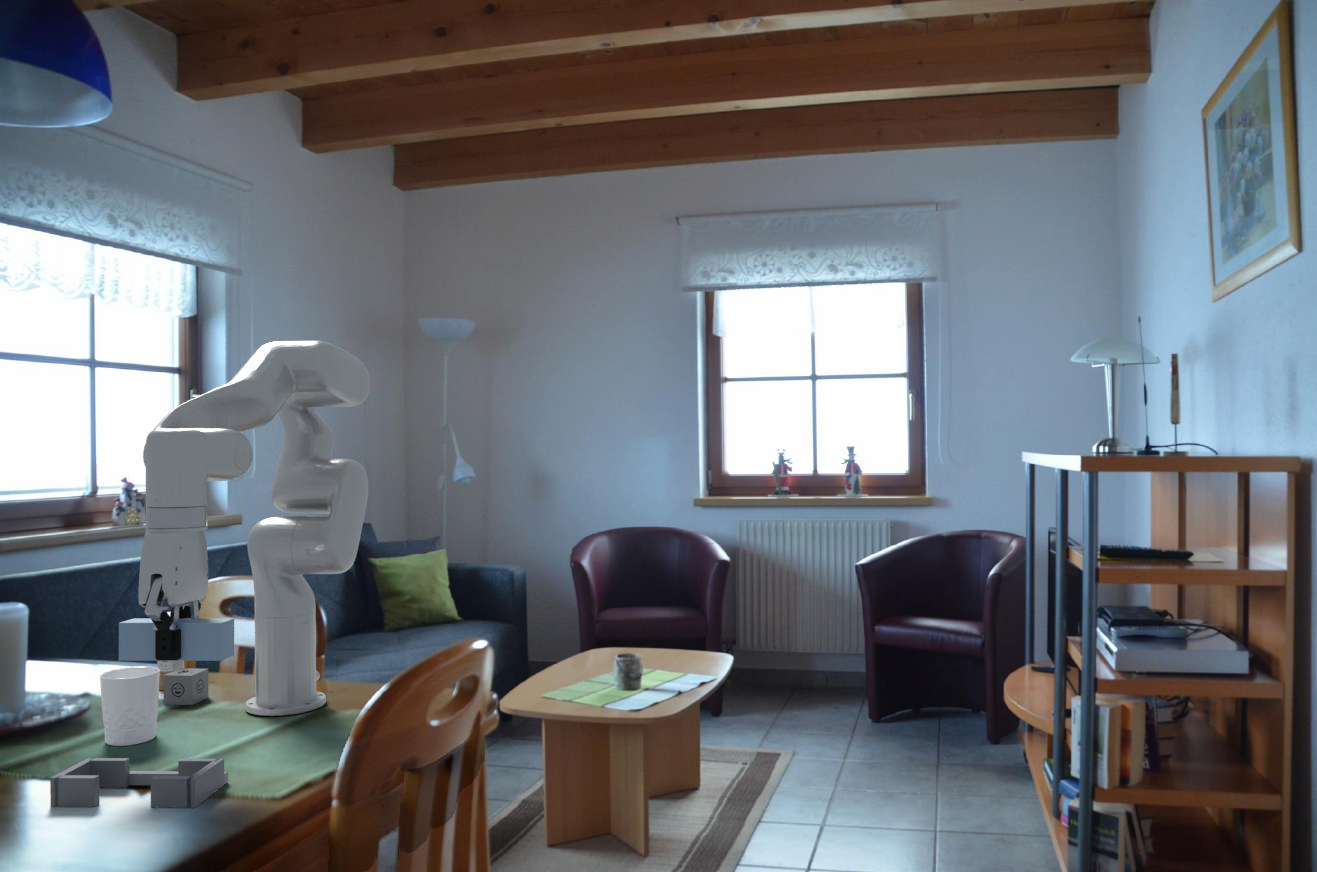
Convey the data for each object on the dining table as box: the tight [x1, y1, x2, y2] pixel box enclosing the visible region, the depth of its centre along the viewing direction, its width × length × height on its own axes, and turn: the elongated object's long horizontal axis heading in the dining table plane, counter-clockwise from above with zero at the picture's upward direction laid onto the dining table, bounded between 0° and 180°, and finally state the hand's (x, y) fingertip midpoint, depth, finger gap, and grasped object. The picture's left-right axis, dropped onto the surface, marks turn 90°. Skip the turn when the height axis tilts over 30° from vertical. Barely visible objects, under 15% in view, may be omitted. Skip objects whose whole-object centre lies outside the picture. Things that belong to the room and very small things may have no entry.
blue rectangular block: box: [118, 617, 235, 662], centre depth 134 cm, size 14×4×5 cm, turn 88°
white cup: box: [99, 666, 160, 747], centre depth 149 cm, size 8×8×10 cm
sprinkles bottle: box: [156, 611, 185, 691], centre depth 179 cm, size 5×5×14 cm
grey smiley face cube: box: [163, 667, 209, 706], centre depth 170 cm, size 5×5×5 cm
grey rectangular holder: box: [49, 757, 229, 809], centre depth 126 cm, size 8×18×4 cm, turn 88°
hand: (176, 655), depth 134 cm, fingers closed on blue rectangular block, 3 cm apart
